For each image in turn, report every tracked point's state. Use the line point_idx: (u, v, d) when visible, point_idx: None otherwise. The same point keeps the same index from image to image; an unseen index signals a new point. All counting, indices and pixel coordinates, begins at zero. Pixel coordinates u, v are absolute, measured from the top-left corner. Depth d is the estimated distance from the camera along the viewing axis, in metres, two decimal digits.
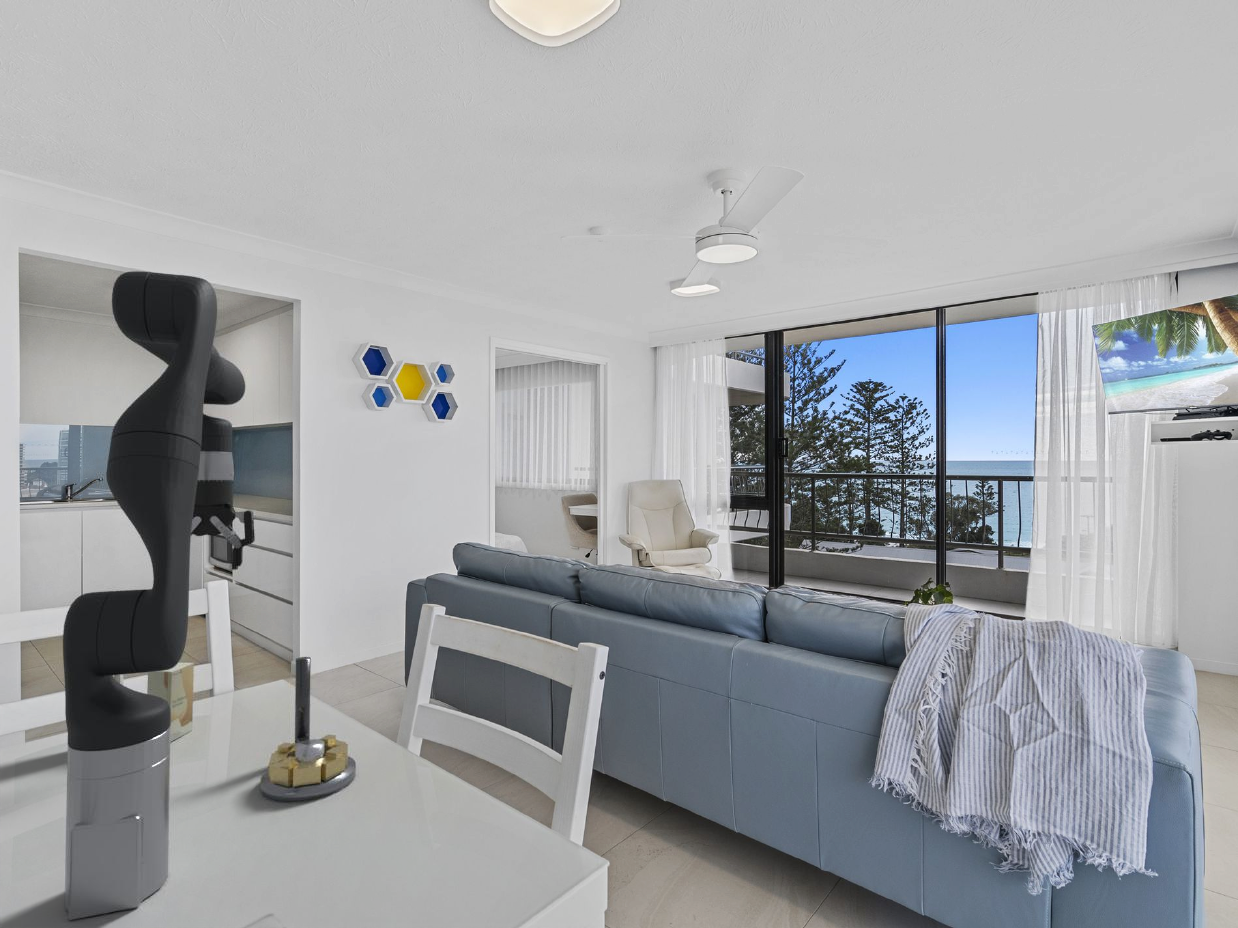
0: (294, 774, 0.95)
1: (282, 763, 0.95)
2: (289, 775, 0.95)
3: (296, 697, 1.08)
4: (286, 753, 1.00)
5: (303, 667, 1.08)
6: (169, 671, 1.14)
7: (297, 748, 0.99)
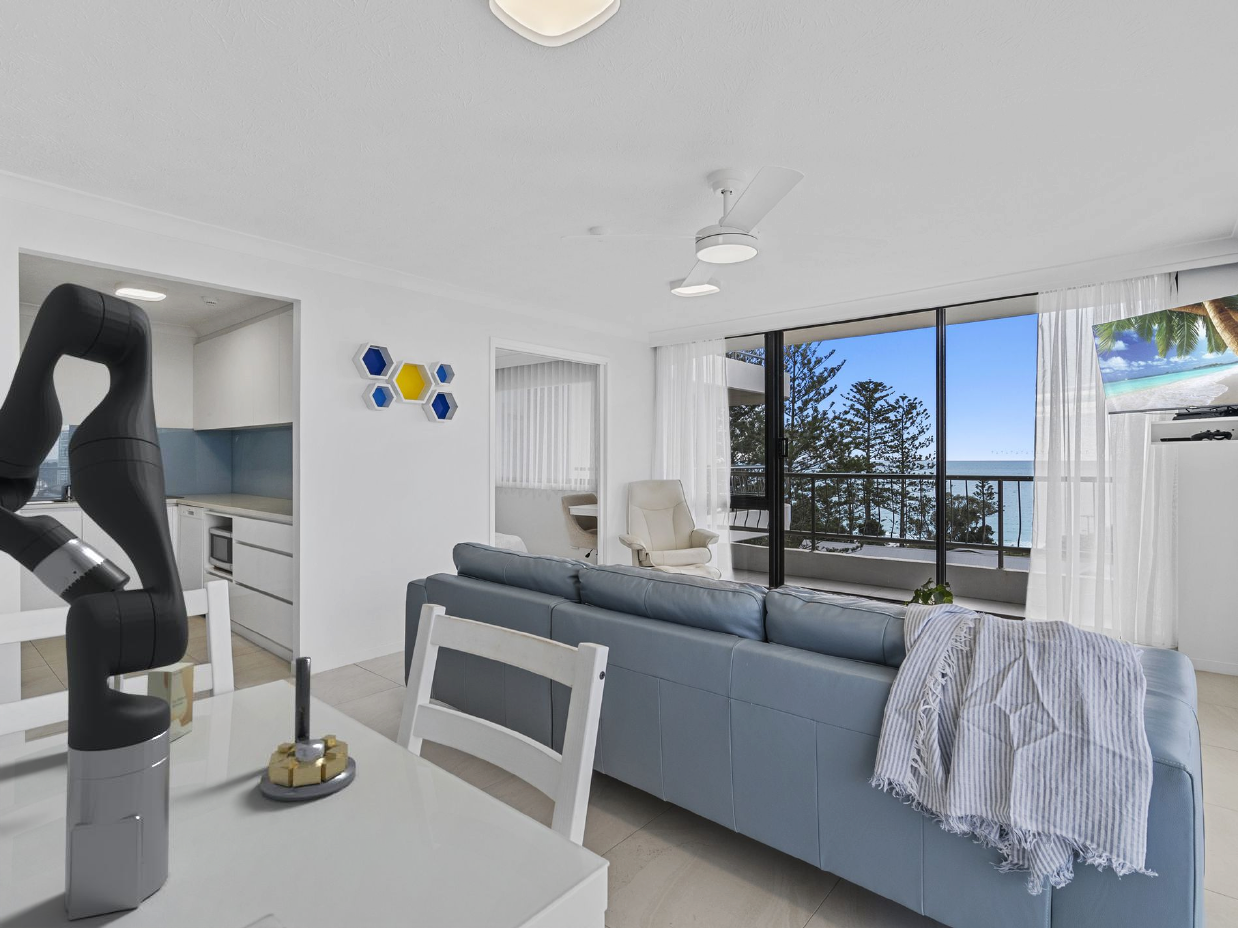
0: (294, 774, 0.95)
1: (282, 763, 0.95)
2: (289, 775, 0.95)
3: (296, 697, 1.08)
4: (286, 753, 1.00)
5: (303, 667, 1.08)
6: (169, 671, 1.14)
7: (297, 748, 0.99)
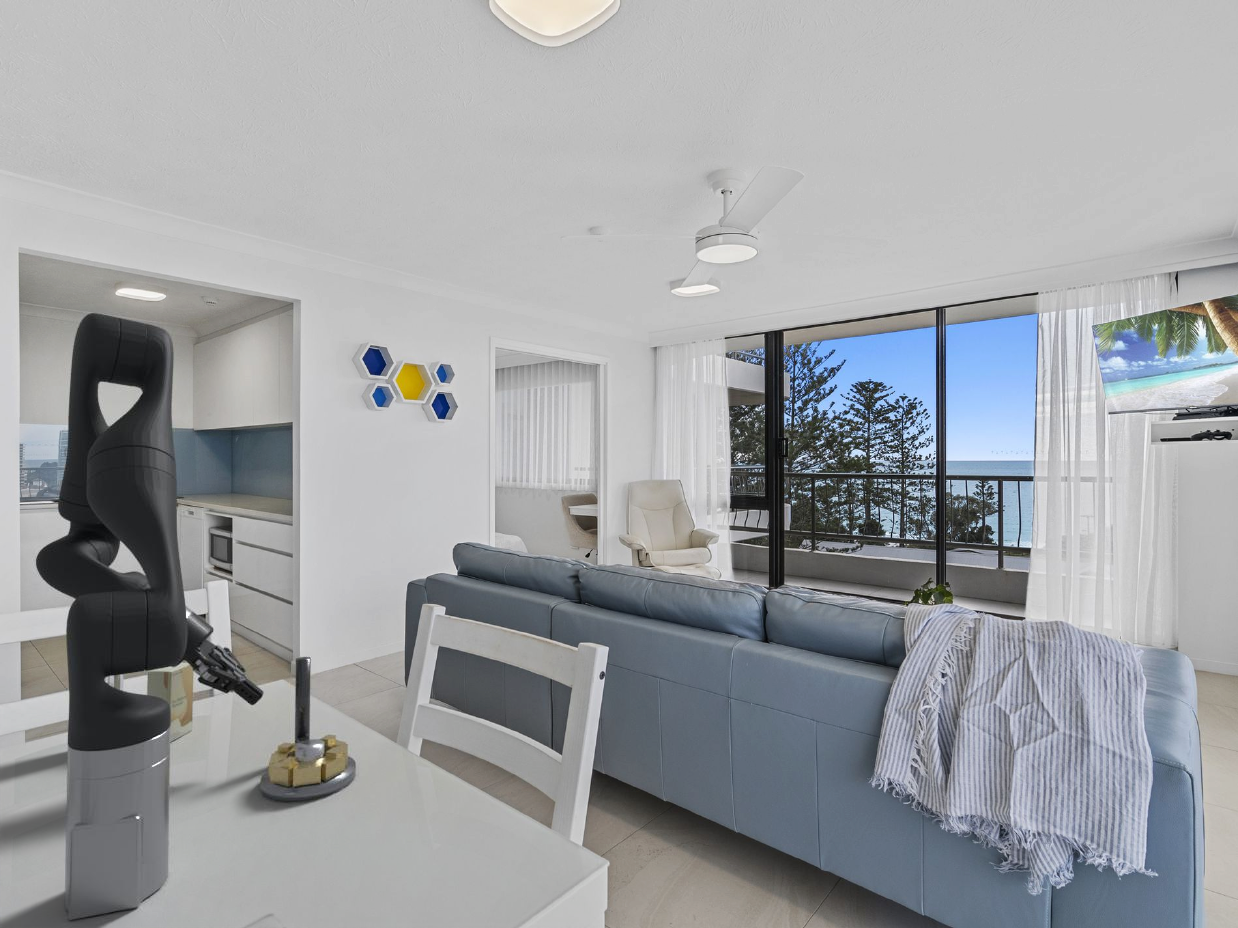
0: (294, 774, 0.95)
1: (282, 763, 0.95)
2: (289, 775, 0.95)
3: (296, 697, 1.08)
4: (286, 753, 1.00)
5: (303, 667, 1.08)
6: (169, 671, 1.14)
7: (297, 748, 0.99)
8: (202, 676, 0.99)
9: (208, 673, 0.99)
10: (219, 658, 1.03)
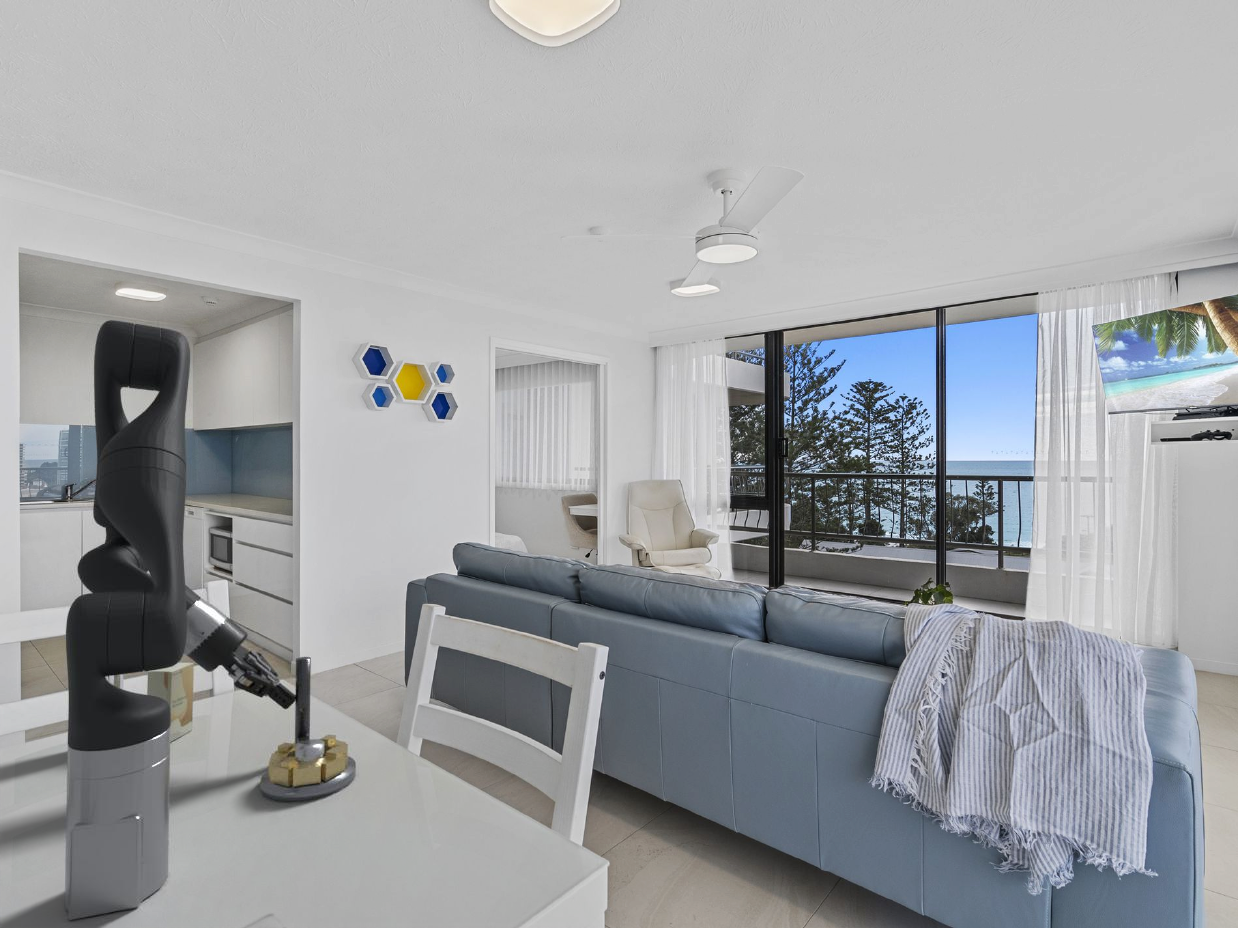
0: (294, 774, 0.95)
1: (282, 763, 0.95)
2: (289, 775, 0.95)
3: (296, 697, 1.08)
4: (286, 753, 1.00)
5: (303, 667, 1.08)
6: (169, 671, 1.14)
7: (297, 748, 0.99)
8: (238, 680, 1.00)
9: (244, 678, 1.00)
10: (253, 663, 1.05)
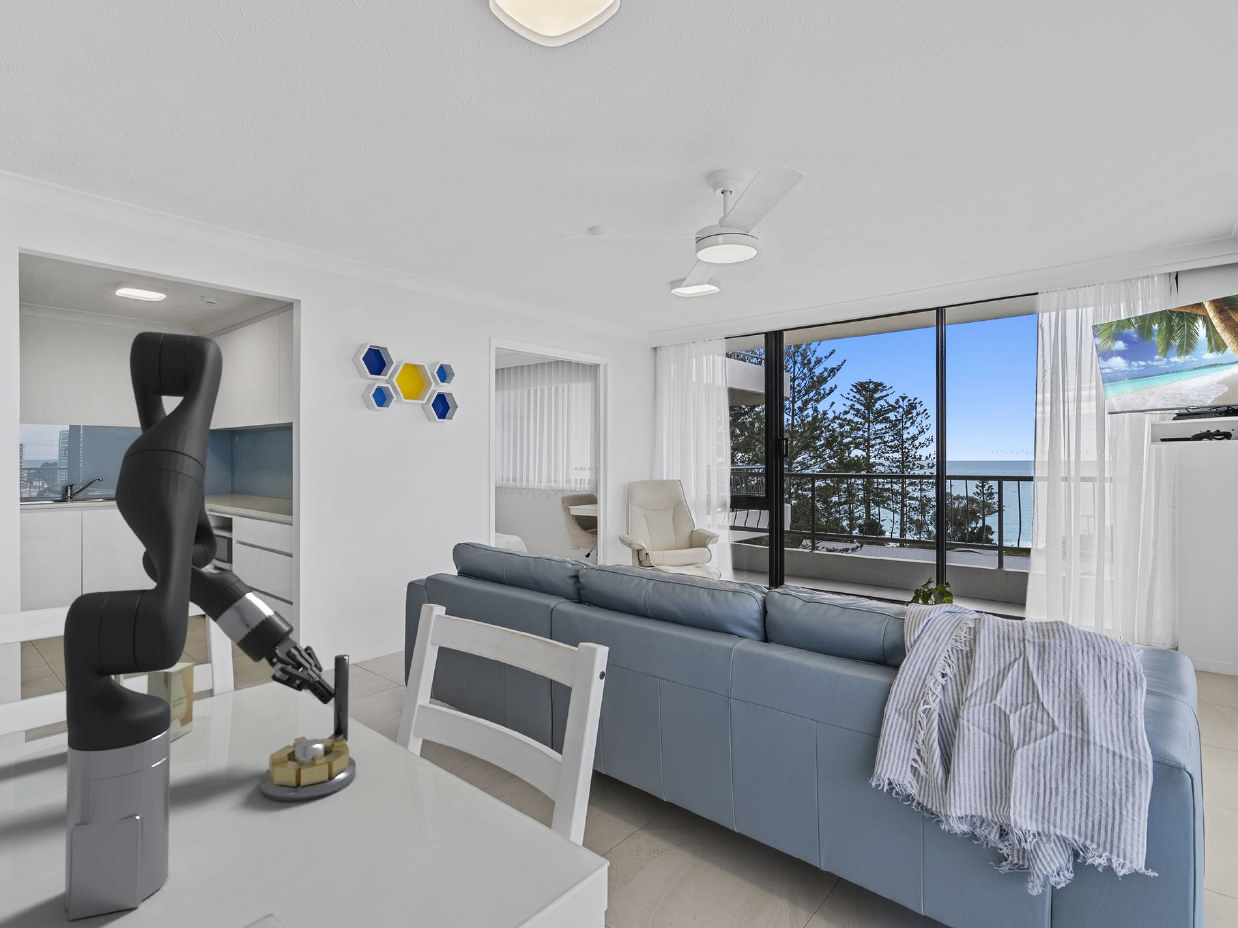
0: (274, 772, 0.95)
1: (271, 758, 0.97)
2: (272, 771, 0.96)
3: (334, 693, 1.10)
4: None
5: (338, 665, 1.09)
6: (169, 671, 1.14)
7: (297, 748, 0.99)
8: (275, 674, 1.04)
9: (280, 671, 1.04)
10: (294, 657, 1.08)
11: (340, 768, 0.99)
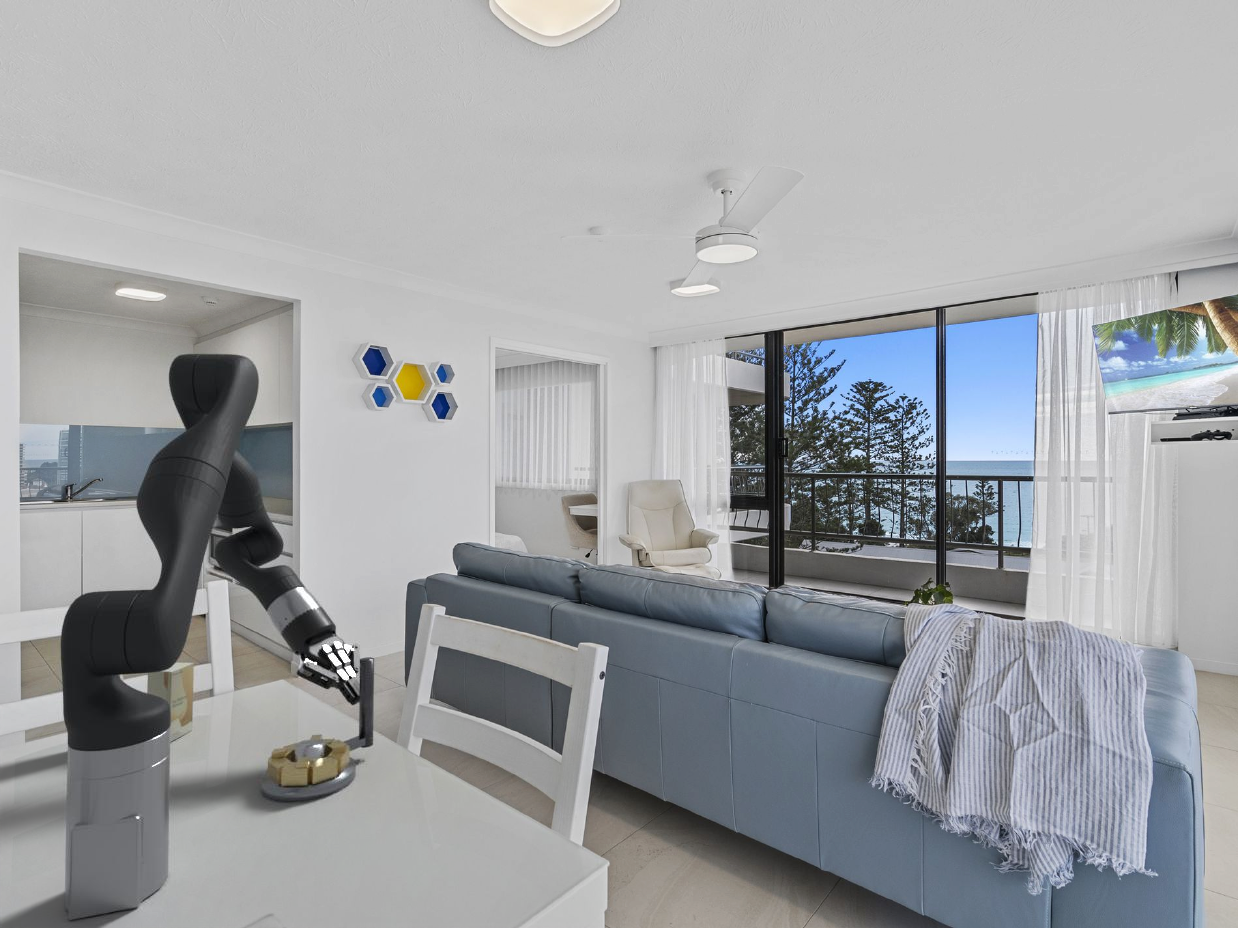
0: (268, 765, 0.97)
1: None
2: None
3: None
4: None
5: (360, 667, 1.08)
6: (169, 671, 1.14)
7: (297, 748, 0.99)
8: (299, 669, 1.06)
9: (302, 667, 1.06)
10: (326, 654, 1.10)
11: (325, 775, 0.97)
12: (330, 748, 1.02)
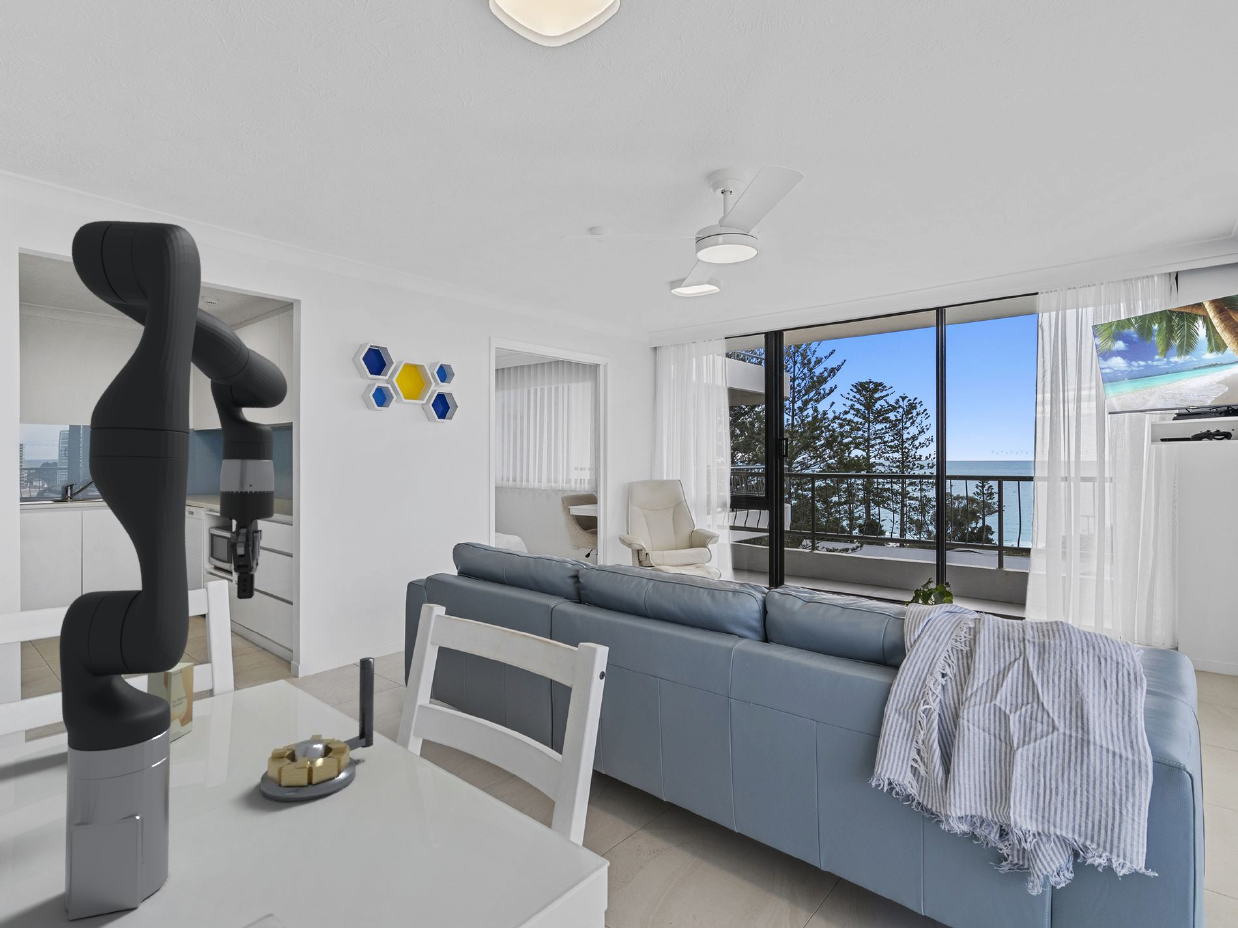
0: (268, 765, 0.97)
1: None
2: None
3: None
4: None
5: (360, 667, 1.08)
6: (169, 671, 1.14)
7: (297, 748, 0.99)
8: (237, 543, 1.00)
9: (243, 545, 1.00)
10: (255, 541, 1.04)
11: (325, 775, 0.97)
12: (330, 748, 1.02)
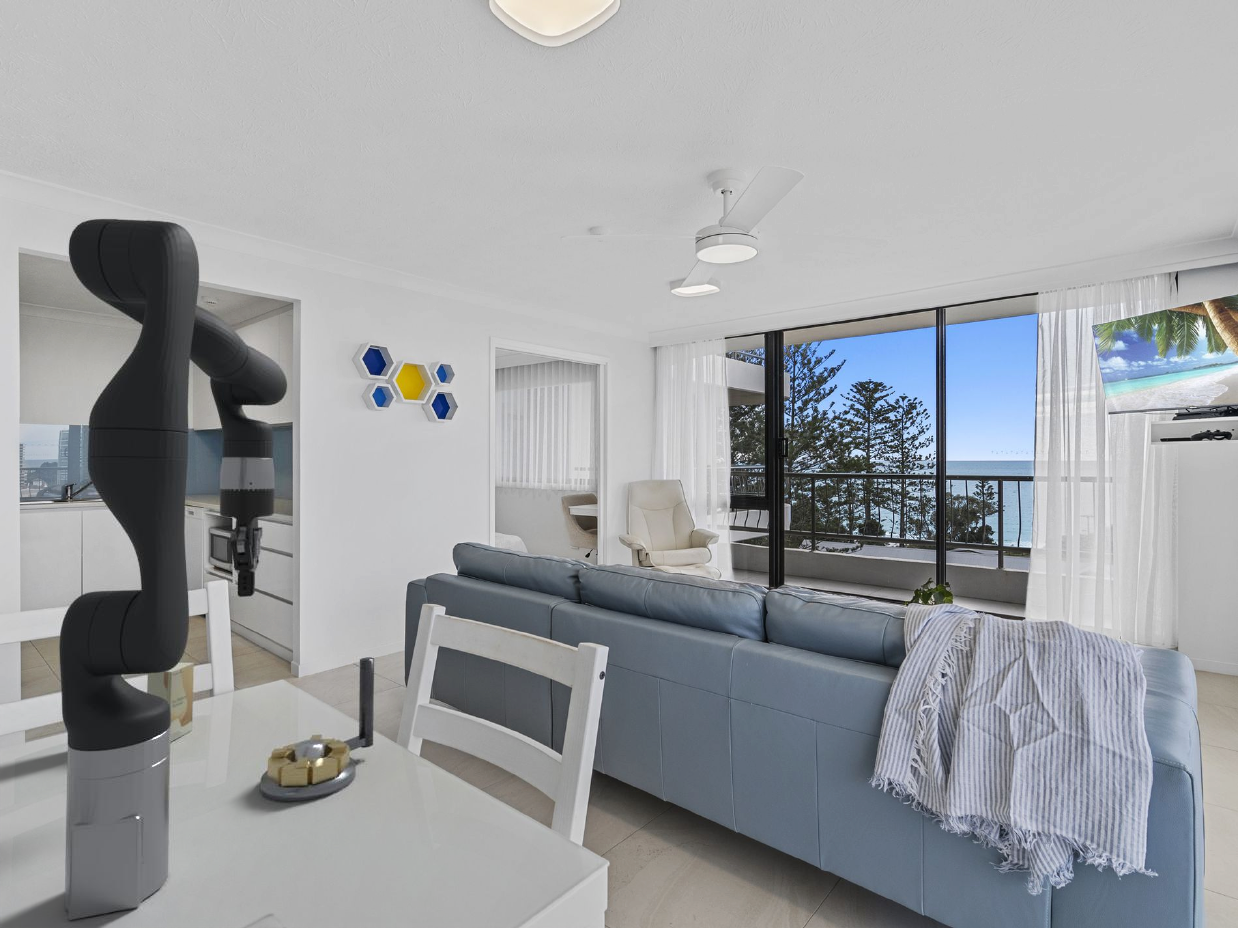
0: (268, 765, 0.97)
1: None
2: None
3: None
4: None
5: (360, 667, 1.08)
6: (169, 671, 1.14)
7: (297, 748, 0.99)
8: (237, 541, 1.00)
9: (243, 543, 1.00)
10: (256, 539, 1.04)
11: (325, 775, 0.97)
12: (330, 748, 1.02)
